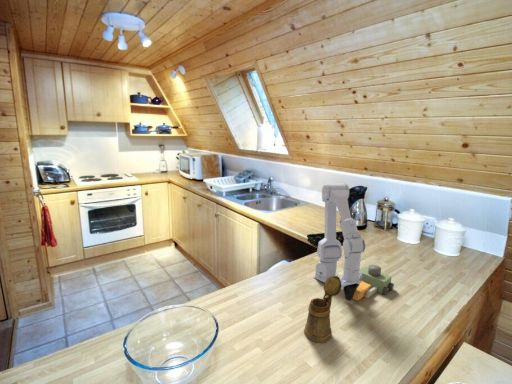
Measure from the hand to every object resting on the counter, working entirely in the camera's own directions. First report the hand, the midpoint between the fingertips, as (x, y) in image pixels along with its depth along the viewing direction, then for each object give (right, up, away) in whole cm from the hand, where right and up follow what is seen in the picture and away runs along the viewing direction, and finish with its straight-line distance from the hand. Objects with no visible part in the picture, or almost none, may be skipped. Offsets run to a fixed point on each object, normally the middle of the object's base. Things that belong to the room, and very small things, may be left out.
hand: (348, 299), depth 114 cm
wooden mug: (-14, -5, -16) cm, 22 cm away
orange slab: (+6, 0, +5) cm, 8 cm away
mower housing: (+12, +1, +11) cm, 16 cm away
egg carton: (+10, +12, +64) cm, 66 cm away
